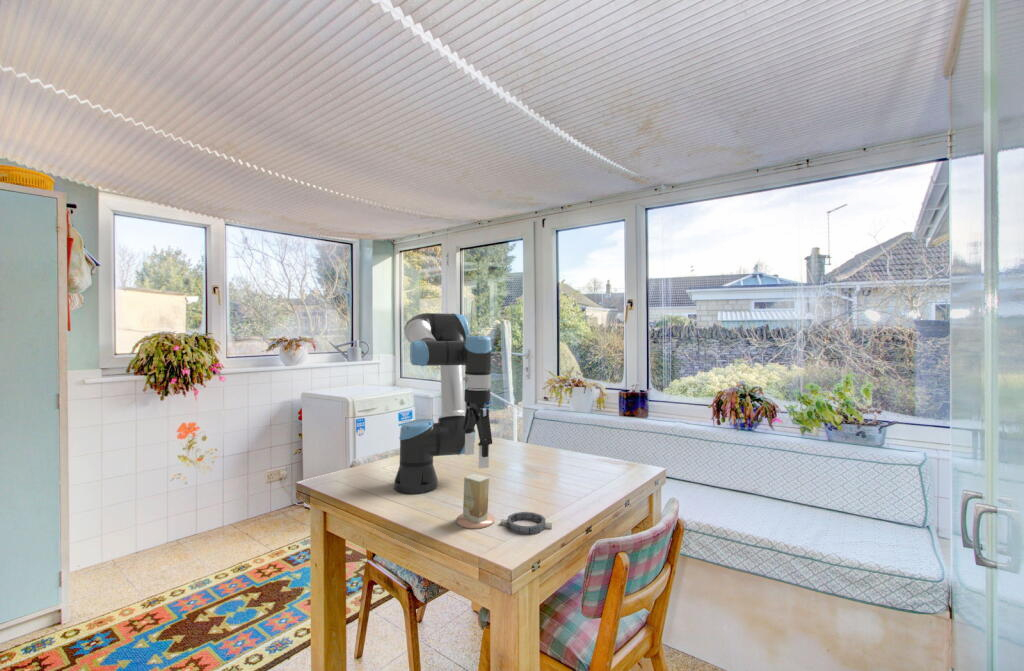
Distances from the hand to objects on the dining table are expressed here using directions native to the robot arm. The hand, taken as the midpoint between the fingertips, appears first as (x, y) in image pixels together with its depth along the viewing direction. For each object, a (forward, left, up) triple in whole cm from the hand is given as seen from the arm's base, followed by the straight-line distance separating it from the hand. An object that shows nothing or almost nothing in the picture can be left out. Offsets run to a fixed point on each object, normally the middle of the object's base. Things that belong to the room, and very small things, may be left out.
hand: (476, 460), depth 132 cm
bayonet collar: (+15, -1, -17) cm, 23 cm away
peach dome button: (0, 0, -17) cm, 17 cm away
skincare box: (0, 0, -17) cm, 17 cm away
